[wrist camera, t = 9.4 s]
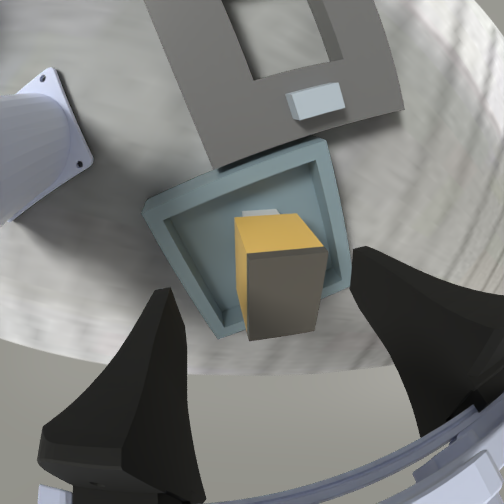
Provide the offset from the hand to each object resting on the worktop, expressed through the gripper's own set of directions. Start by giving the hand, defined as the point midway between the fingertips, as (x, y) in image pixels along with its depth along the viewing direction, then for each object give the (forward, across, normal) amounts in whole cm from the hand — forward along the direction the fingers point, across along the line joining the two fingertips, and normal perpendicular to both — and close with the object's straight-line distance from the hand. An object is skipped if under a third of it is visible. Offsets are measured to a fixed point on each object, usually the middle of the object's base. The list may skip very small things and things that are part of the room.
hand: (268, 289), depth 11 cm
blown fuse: (+10, -1, +3) cm, 10 cm away
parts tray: (+10, -1, +3) cm, 11 cm away
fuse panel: (+10, -4, -12) cm, 16 cm away
